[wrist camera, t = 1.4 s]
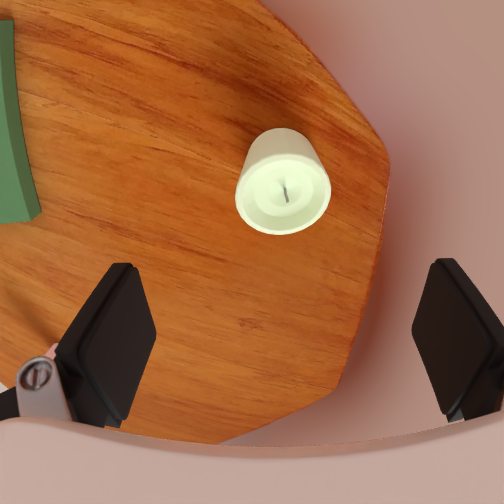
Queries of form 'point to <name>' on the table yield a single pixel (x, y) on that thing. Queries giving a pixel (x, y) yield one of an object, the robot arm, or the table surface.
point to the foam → (13, 142)
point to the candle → (282, 183)
